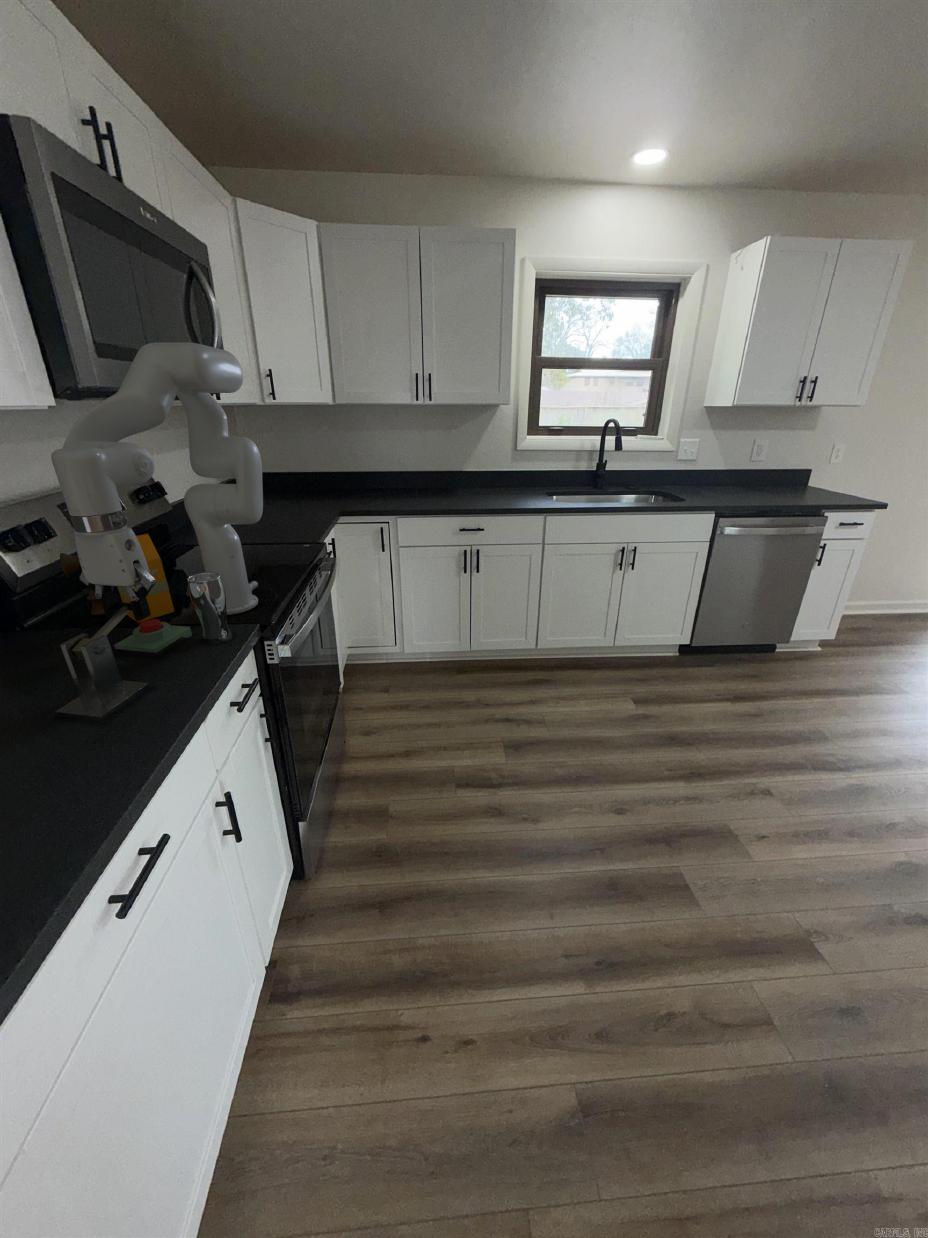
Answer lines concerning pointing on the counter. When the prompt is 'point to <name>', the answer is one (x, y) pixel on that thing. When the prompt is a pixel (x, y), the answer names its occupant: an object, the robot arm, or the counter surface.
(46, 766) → the counter surface
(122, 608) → the stove lever
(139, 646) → the button block
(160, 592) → the orange juice
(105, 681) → the lever bracket
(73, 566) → the kendama
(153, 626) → the button
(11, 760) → the counter surface
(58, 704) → the counter surface
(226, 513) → the robot arm
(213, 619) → the beer glass
